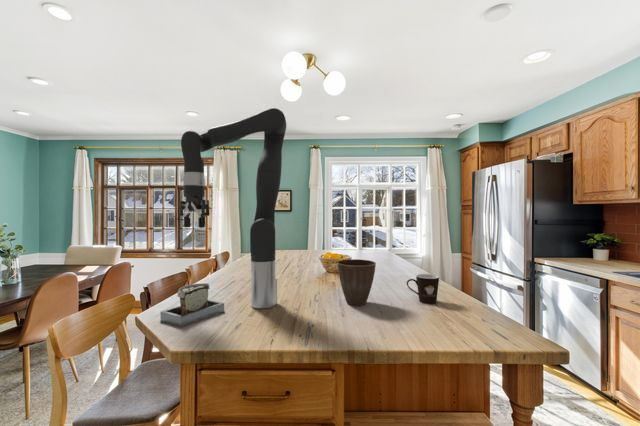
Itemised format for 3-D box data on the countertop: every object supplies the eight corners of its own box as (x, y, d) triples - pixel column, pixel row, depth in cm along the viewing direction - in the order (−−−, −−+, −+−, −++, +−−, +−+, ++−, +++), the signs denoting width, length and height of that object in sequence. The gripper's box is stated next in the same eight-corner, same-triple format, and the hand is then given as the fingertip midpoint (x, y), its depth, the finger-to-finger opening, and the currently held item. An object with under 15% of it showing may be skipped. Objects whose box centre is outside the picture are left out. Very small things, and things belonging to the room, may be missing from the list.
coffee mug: (441, 300, 118) (441, 275, 118) (437, 306, 111) (436, 279, 111) (412, 296, 124) (411, 272, 124) (406, 301, 117) (405, 276, 117)
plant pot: (383, 303, 115) (383, 262, 115) (360, 312, 105) (359, 267, 105) (353, 295, 126) (353, 258, 126) (329, 303, 115) (329, 262, 115)
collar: (204, 306, 112) (204, 298, 112) (224, 311, 107) (224, 303, 107) (160, 320, 98) (160, 311, 98) (181, 326, 92) (181, 317, 92)
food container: (196, 309, 109) (196, 282, 109) (209, 310, 107) (209, 283, 107) (168, 320, 98) (168, 290, 98) (183, 322, 96) (183, 291, 96)
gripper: (173, 185, 113) (173, 227, 113) (197, 183, 106) (198, 228, 106) (191, 186, 120) (191, 226, 120) (214, 184, 112) (215, 227, 112)
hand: (194, 227), depth 113 cm, fingers open, 8 cm apart
